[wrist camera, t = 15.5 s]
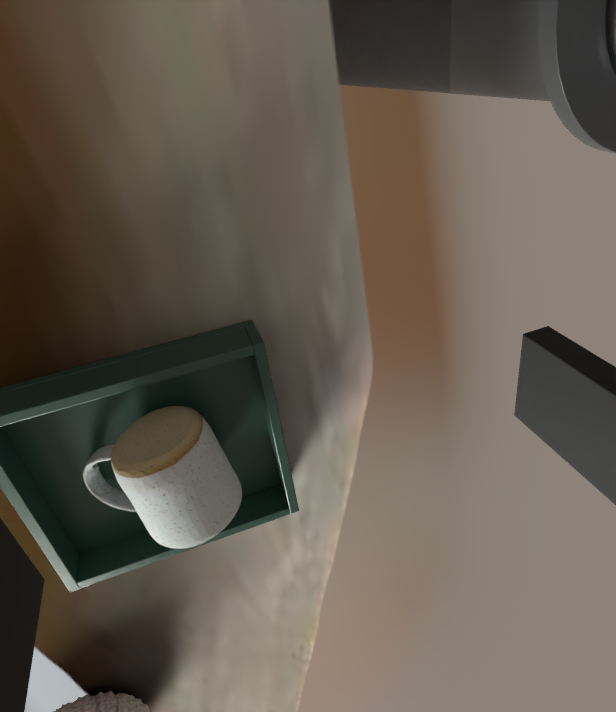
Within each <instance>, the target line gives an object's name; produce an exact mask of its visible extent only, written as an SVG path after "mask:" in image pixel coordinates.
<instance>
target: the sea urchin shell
mask: <svg viewBox="0 0 616 712" xmlns="http://www.w3.org/2000/svg"><path fill="white" fill-rule="evenodd" d="M54 712H151V710H150V709H149V707H148V705H147V704H143V703H142V701H141V699H135V697H134V696H132V695H128V694H124V693H118V694H116V695H115V694H113V692H112V691H109V692H107V693H102V692H99V693H98V694H97V695H95V696H89V695H86V696H84V697H82V698H81V697H79V698H78V699H77V700H76V701H74V702H73V703H67V704H66V705H62V707H61V708H59V709H57V710H56V711H54Z"/></svg>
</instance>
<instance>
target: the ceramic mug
mask: <svg viewBox="0 0 616 712" xmlns="http://www.w3.org/2000/svg"><path fill="white" fill-rule="evenodd" d="M108 460H111V464H112V468H113V471H114V474H115V476H116V479H117V481H118V483H119V485H120V486H121V488H122V490H123V491H124V492H123V491H120V490H118V489H116V488H113V487H112V486H110V485H109V484H108V483H107V482H106V481H105V480H104V478H103V476H102V474H101V472H100V470H99V466H98V465H97V463H98V462H102V461H108ZM83 479H84V482H85V484H86V486H87V488H88V489H89V491H90V492H91V493H92V494H93V495H94V496H95V497H96V498H97V499H99V500H100V501H102V502H103V503H105V504H107V505H109V506H111V507H114V508H117V509H121V510H126V511H131V512H137V513H138V515H139V517H140V518H141V520H142V522H143V523H144V525H145V527H146V529H147V530H148V532H149V534H150V535H151V536H152V538H153V539H154V540H155V541H156V542H157V543H159V544H160V545H163V546H165V547H168V548H177V549H183V548H189V547H193V546H196V545H198V544H202V543H204V542H206V541H208V540H209V539H211V538H213V537H214V536H216V535H217V534H218V533H220V532H221V531H222V530H223V529H224V528H225V527H226V526H227V525H228V524H229V523H230V522H231V520H232V519H233V518H234V516H235V514H236V513H237V511H238V509H239V506H240V503H241V499H242V488H241V484H240V481H239V479H238V477H237V475H236V473H235V472H234V470H233V468H232V466H231V465H230V463H229V461H228V459H227V457H226V455H225V453H224V451H223V450H222V448H221V446H220V444H219V442H218V440H217V439H216V437H215V435H214V433H213V431H212V429H211V427H210V426H209V424H208V423H207V422H206V420H205V419H204V418H203V417H202V416H201V415H200V414H199V413H198V412H197V411H196V410H194V409H192V408H190V407H185V406H168V407H164V408H160V409H157V410H154V411H151V412H149V413H147V414H146V415H144V416H142V417H140V418H139V419H137V420H136V421H134V422H133V423H132V424H130V425H129V426H128V427H127V428H126V429H125V430H124V431H123V432H122V433H121V435H120V436H119V438H118V439H117V441H116V442H115V444H113V445H107V446H105V447H102V448H100V449H98V450H97V451H95V452H94V453H93V454H92V456H91V457H90V458H89V460H88V462H87V463H86V465H85V467H84V472H83Z"/></svg>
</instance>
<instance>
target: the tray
mask: <svg viewBox="0 0 616 712" xmlns="http://www.w3.org/2000/svg"><path fill="white" fill-rule="evenodd" d="M168 406H185V407H190V408H192V409H194V410H196V411H197V412H198V413H199V414H200V415H201V416H202V417H203V418H204V419H205V420H206V422H207V423H208V424H209V426H210V427H211V429H212V431H213V433H214V435H215V437H216V439H217V440H218V442H219V444H220V446H221V448H222V450H223V451H224V453H225V455H226V457H227V459H228V461H229V463H230V465H231V466H232V468H233V470H234V472H235V473H236V475H237V477H238V479H239V481H240V484H241V488H242V499H241V503H240V506H239V509H238V511H237V513H236V514H235V516H234V518H233V519H232V520H231V522H230V523H229V524H228V525H227V526H226V527H225V528H224V529H223V530H222V531H221V532H220V533H218V534H217V535H216V536H214V537H213V538H211V539H209V540H208V541H206V542H204V543H202V544H198V545H196V546H193V547H189V548H183V549H177V548H168V547H165V546H163V545H160V544H159V543H157V542H156V541H155V540H154V539H153V538H152V536H151V535H150V534H149V532H148V530H147V529H146V527H145V525H144V523H143V522H142V520H141V518H140V517H139V515H138V513H137V512H131V511H126V510H121V509H117V508H114V507H111V506H109V505H107V504H105V503H103V502H102V501H100V500H99V499H97V498H96V497H95V496H94V495H93V494H92V493H91V492H90V491H89V489H88V488H87V486H86V484H85V482H84V479H83V472H84V467H85V465H86V463H87V462H88V460H89V458H90V457H91V456H92V454H93V453H94V452H95V451H97V450H98V449H100V448H102V447H105V446H107V445H113V444H115V442H116V441H117V439H118V438H119V436H120V435H121V433H122V432H123V431H124V430H125V429H126V428H127V427H128V426H129V425H130V424H132V423H133V422H134V421H136V420H137V419H139V418H140V417H142V416H144V415H146V414H147V413H149V412H151V411H154V410H157V409H160V408H164V407H168ZM97 465H98V466H99V470H100V472H101V474H102V476H103V478H104V480H105V481H106V482H107V483H108V484H109V485H110V486H112V487H113V488H116V489H118V490H120V491H123V490H122V488H121V486H120V485H119V483H118V481H117V479H116V476H115V474H114V471H113V468H112V464H111V460H108V461H102V462H98V463H97ZM0 488H1V489H2V491H3V492H4V494H5V495H6V497H7V498H8V500H9V501H10V503H11V504H12V506H13V507H14V509H15V510H16V512H17V513H18V515H19V516H20V518H21V519H22V521H23V522H24V524H25V525H26V527H27V528H28V530H29V531H30V533H31V534H32V536H33V537H34V539H35V540H36V542H37V543H38V545H39V546H40V548H41V549H42V551H43V552H44V554H45V555H46V557H47V558H48V560H49V561H50V563H51V564H52V566H53V567H54V569H55V570H56V572H57V573H58V575H59V576H60V578H61V579H62V581H63V582H64V584H65V585H66V587H67V588H68V590H69V591H70V592H72V591H75V590H78V589H80V588H83V587H86V586H88V585H91V584H94V583H97V582H100V581H102V580H105V579H108V578H111V577H114V576H117V575H119V574H122V573H125V572H128V571H131V570H133V569H136V568H139V567H142V566H145V565H148V564H150V563H153V562H156V561H159V560H162V559H164V558H167V557H170V556H173V555H176V554H179V553H181V552H184V551H187V550H190V549H193V548H195V547H198V546H201V545H204V544H207V543H210V542H212V541H215V540H218V539H221V538H224V537H226V536H229V535H232V534H235V533H238V532H241V531H243V530H246V529H249V528H252V527H255V526H257V525H260V524H263V523H266V522H269V521H272V520H274V519H277V518H280V517H283V516H286V515H288V514H290V513H294V512H297V511H299V508H298V503H297V499H296V494H295V489H294V484H293V479H292V475H291V470H290V465H289V460H288V456H287V451H286V446H285V441H284V436H283V432H282V427H281V422H280V417H279V412H278V408H277V403H276V398H275V393H274V389H273V384H272V379H271V374H270V369H269V365H268V360H267V355H266V350H265V346H264V342H263V340H262V338H261V336H260V334H259V332H258V331H257V329H256V327H255V325H254V323H253V321H252V320H250V321H246V322H242V323H238V324H235V325H231V326H227V327H224V328H220V329H216V330H212V331H209V332H205V333H201V334H197V335H194V336H190V337H186V338H183V339H179V340H175V341H171V342H168V343H164V344H160V345H157V346H153V347H149V348H145V349H142V350H138V351H134V352H131V353H127V354H123V355H119V356H116V357H112V358H108V359H104V360H101V361H97V362H93V363H90V364H86V365H82V366H78V367H75V368H71V369H67V370H64V371H60V372H56V373H52V374H49V375H45V376H41V377H38V378H34V379H30V380H26V381H23V382H19V383H15V384H11V385H8V386H4V387H0ZM123 492H124V491H123Z"/></svg>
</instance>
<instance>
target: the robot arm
mask: <svg viewBox="0 0 616 712" xmlns="http://www.w3.org/2000/svg"><path fill="white" fill-rule="evenodd" d="M605 36H606V45H607V50H608V55H609V59H610V62H611V65H612V68H613V70H614V73H615V74H616V0H606V11H605ZM515 416H516V417H517V418H518V419H519V420H520V421H522V422H523V423H524V424H525V425H526V426H527V427H528V428H529V429H530V430H532V431H533V432H534V433H535V434H536V435H537V436H538V437H539V438H541V439H542V440H543V441H544V442H545V443H546V444H547V445H549V446H550V447H551V448H552V449H553V450H554V451H555V452H556V453H558V454H559V455H560V456H561V457H562V458H563V459H564V460H565V461H567V462H568V463H569V464H570V465H571V466H572V467H574V468H575V469H576V470H577V471H578V472H579V473H580V474H581V475H582V476H583V477H585V478H586V479H587V480H588V481H589V482H590V483H591V484H592V485H594V486H595V487H596V488H597V489H598V490H599V491H600V492H601V493H603V494H604V495H605V496H606V497H607V498H608V499H609V500H610V501H612V502H613V503H614V504H615V505H616V367H614V366H613V365H611V364H609V363H608V362H606V361H604V360H603V359H601V358H600V357H598V356H596V355H595V354H593V353H591V352H590V351H588V350H586V349H585V348H583V347H581V346H580V345H578V344H577V343H575V342H573V341H571V340H570V339H568V338H567V337H565V336H563V335H562V334H560V333H558V332H557V331H555V330H554V329H552V328H550V327H549V326H547V327H544V328H541V329H538V330H534V331H531V332H528V333H525V334H523V340H522V350H521V359H520V368H519V377H518V386H517V395H516V405H515ZM43 585H44V578H43V577H42V576H41V574H40V573H39V571H38V570H37V569H36V567H35V566H34V564H33V563H32V562H31V560H30V559H29V557H28V556H27V555H26V553H25V552H24V550H23V549H22V548H21V546H20V545H19V543H18V542H17V541H16V539H15V538H14V537H13V535H12V534H11V532H10V531H9V530H8V528H7V527H6V525H5V524H4V523H3V521H2V520H1V518H0V712H24V709H25V703H26V696H27V689H28V682H29V677H30V670H31V664H32V657H33V651H34V644H35V638H36V631H37V625H38V618H39V612H40V605H41V599H42V592H43Z"/></svg>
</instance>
